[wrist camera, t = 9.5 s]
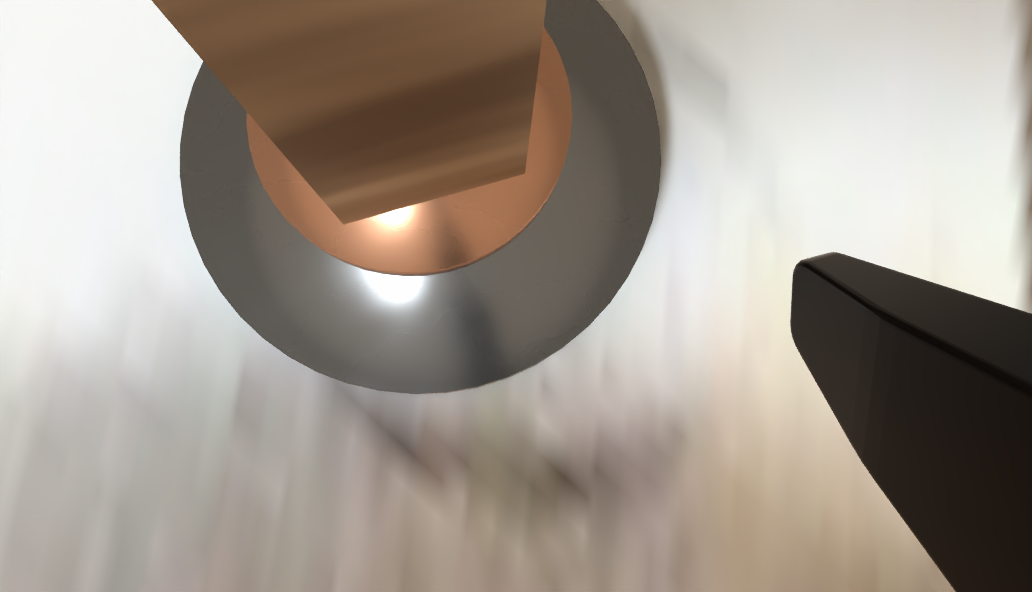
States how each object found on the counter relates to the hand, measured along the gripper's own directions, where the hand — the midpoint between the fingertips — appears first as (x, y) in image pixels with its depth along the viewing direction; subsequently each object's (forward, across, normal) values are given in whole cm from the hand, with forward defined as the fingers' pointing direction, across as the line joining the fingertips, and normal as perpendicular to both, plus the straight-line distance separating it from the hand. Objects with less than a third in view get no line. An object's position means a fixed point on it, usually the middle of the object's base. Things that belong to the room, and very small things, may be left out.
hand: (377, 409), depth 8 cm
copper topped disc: (+14, -2, +4) cm, 15 cm away
